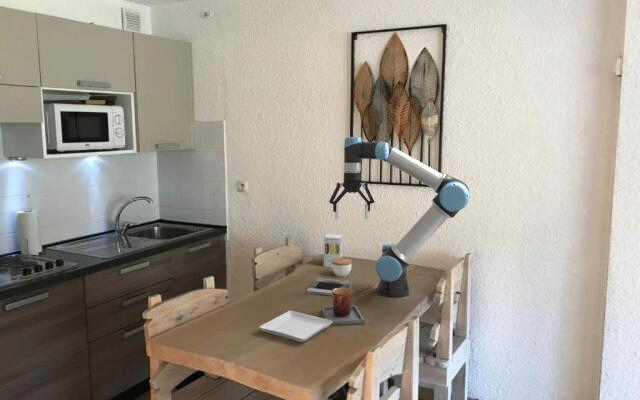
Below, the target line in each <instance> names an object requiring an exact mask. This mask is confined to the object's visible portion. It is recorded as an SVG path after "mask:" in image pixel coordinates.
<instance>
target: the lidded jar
mask: <svg viewBox="0 0 640 400" xmlns="http://www.w3.org/2000/svg"><path fill="white" fill-rule="evenodd" d="M331 262H332V267H331V271H332V272H333V274H335V276H337V277H342V278H343V277H347V276H348V275H349V274H350V272H351V270H352V265H353V264H352V263H353V260H352V259H350V258H344V257H343V256H342V257H341V258H336V259H333V260H332V261H331Z"/></svg>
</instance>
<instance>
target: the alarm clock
mask: <svg viewBox="0 0 640 400" xmlns="http://www.w3.org/2000/svg"><path fill="white" fill-rule="evenodd" d="M335 288H348V289H351V288H352V281H348V280H338V279H330V278H329V279H328V278H321V277H317V279H316V280H315V281H314V282H313V283H312V284H311V285H310V286H309V287H308V288H307V290H306V293H307V294H310V295H311V294H312V295H316V296H317V295H318V296H326V297H333V294H332V290H333V289H335Z"/></svg>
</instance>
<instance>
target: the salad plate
mask: <svg viewBox="0 0 640 400" xmlns="http://www.w3.org/2000/svg"><path fill="white" fill-rule="evenodd" d="M331 324H332V321H331V320H327V319H325V318H324V317H319V316H315V315H312V314H308V313H303V312H298V311H294V310H288V311H286V312H284V313H283V314H279V315H278V316H277V317H275V318H273V319H271V320H269V321H267V322H265V323H263V324H261V325H260V326H259V329H260V330H261V331H263V332H264V333H267V334H271V335H273V336H276V337H277V336H278V337H282V338H285V339H289V340H293V341H296V342H300V343H302V342H306V341H308V340H309V339H310V338H312V337H313V336H315V335H316V334H319V333H320V332H322V331H323V330H325V329H326V328H328V327H330V325H331Z"/></svg>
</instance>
